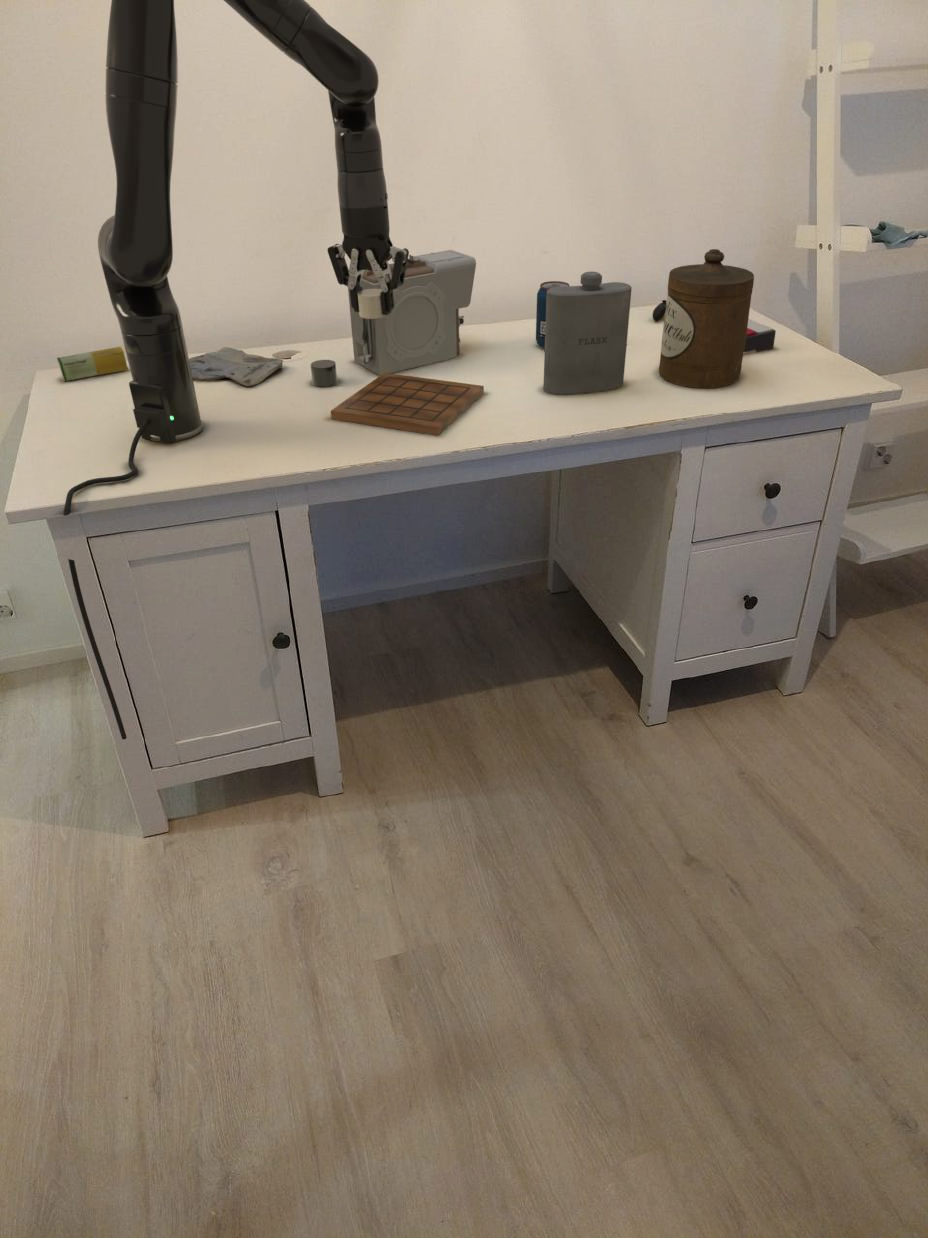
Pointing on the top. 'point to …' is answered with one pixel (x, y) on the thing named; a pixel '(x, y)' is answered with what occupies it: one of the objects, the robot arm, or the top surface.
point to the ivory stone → (370, 303)
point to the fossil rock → (233, 366)
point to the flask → (586, 336)
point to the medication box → (92, 363)
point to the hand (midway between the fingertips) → (373, 311)
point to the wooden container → (705, 323)
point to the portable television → (416, 314)
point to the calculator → (759, 337)
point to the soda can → (543, 310)
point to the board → (408, 403)
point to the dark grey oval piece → (659, 311)
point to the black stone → (324, 373)
